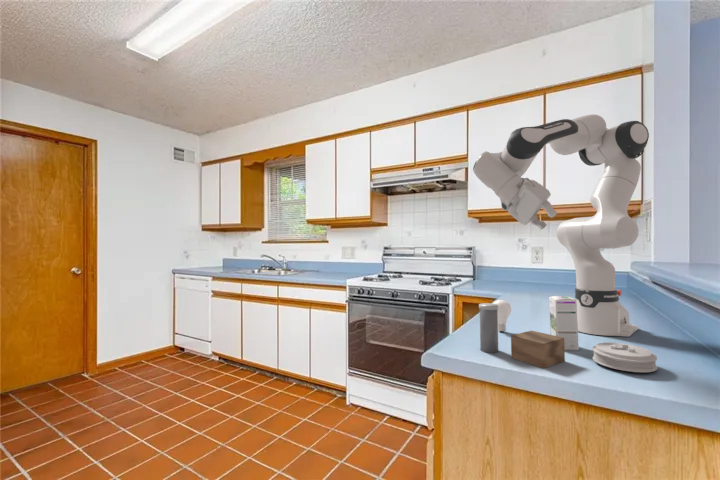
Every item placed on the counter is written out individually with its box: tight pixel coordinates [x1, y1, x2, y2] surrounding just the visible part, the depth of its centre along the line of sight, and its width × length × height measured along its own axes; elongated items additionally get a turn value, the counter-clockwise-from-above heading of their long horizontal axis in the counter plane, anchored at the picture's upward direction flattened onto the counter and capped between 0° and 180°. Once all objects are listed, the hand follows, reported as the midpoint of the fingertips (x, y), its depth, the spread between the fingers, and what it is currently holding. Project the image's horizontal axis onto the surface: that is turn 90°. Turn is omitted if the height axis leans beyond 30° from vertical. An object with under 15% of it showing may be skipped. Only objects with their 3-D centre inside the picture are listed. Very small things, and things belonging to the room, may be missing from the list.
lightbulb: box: [492, 299, 512, 333], centre depth 118 cm, size 6×6×11 cm
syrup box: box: [548, 295, 579, 351], centre depth 100 cm, size 6×6×14 cm
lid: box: [591, 342, 658, 373], centre depth 85 cm, size 13×13×5 cm
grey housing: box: [478, 302, 499, 354], centre depth 98 cm, size 5×5×13 cm
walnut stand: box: [510, 330, 566, 369], centre depth 90 cm, size 9×9×6 cm
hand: (549, 221), depth 104 cm, fingers open, 8 cm apart
